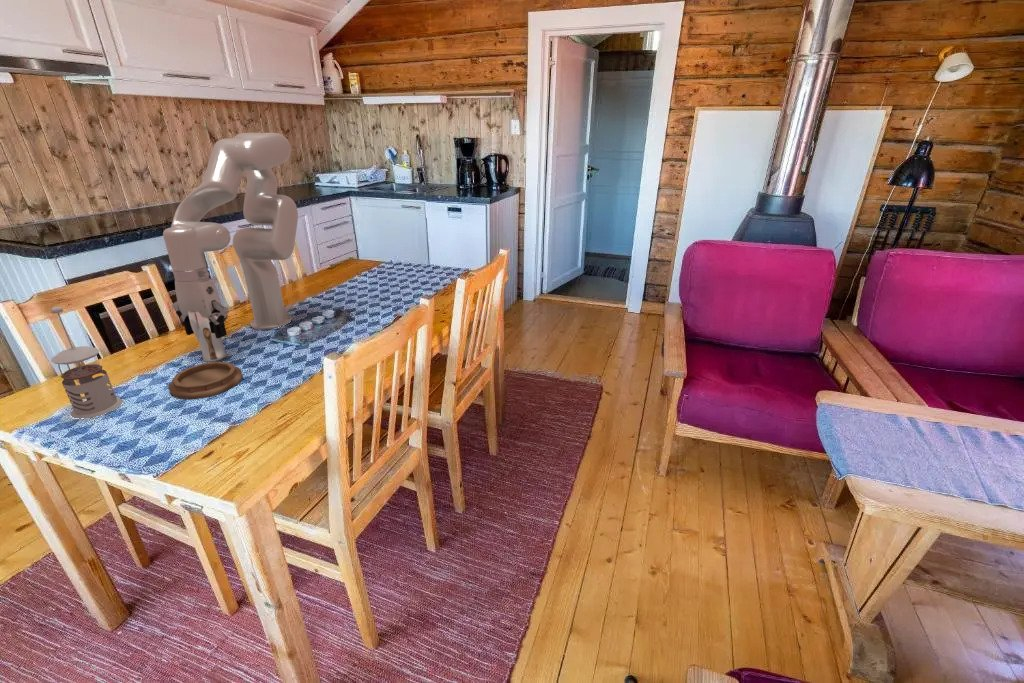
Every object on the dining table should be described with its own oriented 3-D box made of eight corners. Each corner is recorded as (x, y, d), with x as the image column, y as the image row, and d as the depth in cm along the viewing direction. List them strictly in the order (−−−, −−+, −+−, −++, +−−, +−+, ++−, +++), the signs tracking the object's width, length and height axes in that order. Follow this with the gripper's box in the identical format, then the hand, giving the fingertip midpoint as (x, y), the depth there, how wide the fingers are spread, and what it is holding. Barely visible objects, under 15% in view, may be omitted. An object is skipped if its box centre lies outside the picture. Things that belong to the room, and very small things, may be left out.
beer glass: (234, 352, 137) (221, 304, 131) (218, 363, 131) (204, 312, 125) (211, 351, 138) (198, 303, 132) (195, 362, 131) (179, 311, 125)
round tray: (206, 365, 129) (204, 356, 128) (256, 372, 126) (254, 363, 125) (153, 394, 115) (150, 384, 114) (208, 403, 112) (205, 393, 111)
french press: (87, 423, 104) (41, 317, 94) (54, 413, 107) (6, 310, 97) (133, 401, 112) (96, 302, 102) (101, 392, 116) (62, 296, 106)
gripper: (230, 273, 126) (243, 333, 132) (177, 269, 129) (192, 327, 136) (207, 280, 119) (222, 343, 126) (151, 276, 123) (169, 336, 129)
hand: (206, 334), depth 131 cm, fingers open, 9 cm apart
